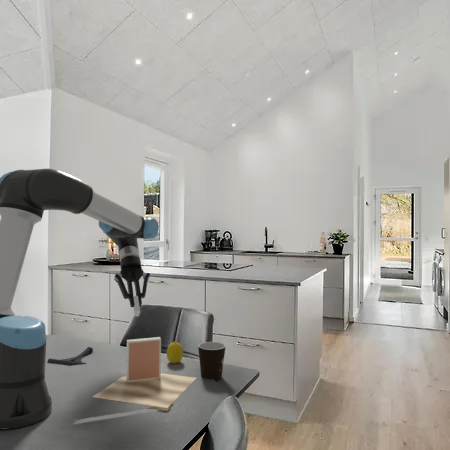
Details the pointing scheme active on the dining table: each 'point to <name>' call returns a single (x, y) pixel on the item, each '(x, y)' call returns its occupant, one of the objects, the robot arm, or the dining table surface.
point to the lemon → (174, 352)
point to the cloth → (148, 391)
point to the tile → (143, 359)
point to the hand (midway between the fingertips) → (137, 314)
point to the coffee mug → (211, 359)
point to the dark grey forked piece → (73, 358)
